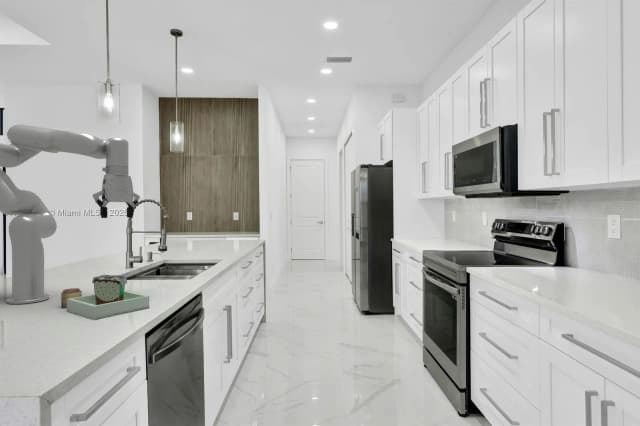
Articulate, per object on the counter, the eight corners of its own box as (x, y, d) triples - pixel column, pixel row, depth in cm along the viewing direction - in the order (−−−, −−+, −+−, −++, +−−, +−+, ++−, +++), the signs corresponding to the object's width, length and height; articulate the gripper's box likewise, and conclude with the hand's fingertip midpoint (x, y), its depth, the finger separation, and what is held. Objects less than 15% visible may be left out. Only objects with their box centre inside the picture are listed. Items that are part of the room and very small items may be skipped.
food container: (135, 305, 136) (135, 276, 136) (121, 309, 130) (121, 279, 130) (106, 302, 140) (106, 274, 140) (92, 306, 134) (92, 277, 134)
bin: (66, 311, 131) (66, 298, 130) (120, 300, 145) (120, 289, 145) (94, 319, 120) (94, 306, 120) (149, 307, 135) (149, 296, 135)
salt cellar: (57, 306, 136) (57, 290, 136) (76, 303, 141) (76, 287, 141) (66, 309, 133) (66, 292, 133) (84, 305, 138) (84, 289, 138)
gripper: (98, 169, 139) (98, 218, 139) (144, 173, 153) (144, 217, 153) (88, 170, 143) (88, 218, 143) (133, 174, 157) (133, 217, 157)
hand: (117, 217), depth 148 cm, fingers open, 9 cm apart
